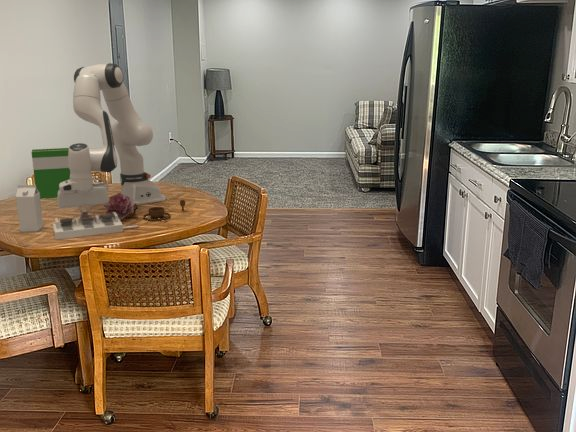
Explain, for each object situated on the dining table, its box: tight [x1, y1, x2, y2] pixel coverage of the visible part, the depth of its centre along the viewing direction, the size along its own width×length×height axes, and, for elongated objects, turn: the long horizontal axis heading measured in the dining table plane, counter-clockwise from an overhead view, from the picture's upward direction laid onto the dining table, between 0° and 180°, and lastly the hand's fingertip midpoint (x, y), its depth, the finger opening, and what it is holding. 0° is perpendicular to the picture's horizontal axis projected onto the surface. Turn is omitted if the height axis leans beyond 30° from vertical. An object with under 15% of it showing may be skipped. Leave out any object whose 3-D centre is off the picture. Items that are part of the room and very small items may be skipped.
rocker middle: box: [79, 214, 94, 222], centre depth 234 cm, size 4×7×2 cm, turn 25°
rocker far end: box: [59, 217, 74, 224], centre depth 231 cm, size 4×7×2 cm, turn 25°
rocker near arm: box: [99, 213, 113, 219], centre depth 238 cm, size 4×7×2 cm, turn 25°
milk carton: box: [15, 184, 44, 233], centre depth 233 cm, size 7×7×19 cm
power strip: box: [52, 212, 139, 240], centre depth 235 cm, size 32×13×6 cm, turn 115°
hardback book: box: [30, 147, 70, 200], centre depth 288 cm, size 18×7×24 cm, turn 111°
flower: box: [102, 193, 139, 221], centre depth 253 cm, size 15×15×10 cm
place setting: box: [142, 199, 186, 223], centre depth 255 cm, size 18×20×6 cm
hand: (84, 215), depth 238 cm, fingers closed, pressing on rocker middle
